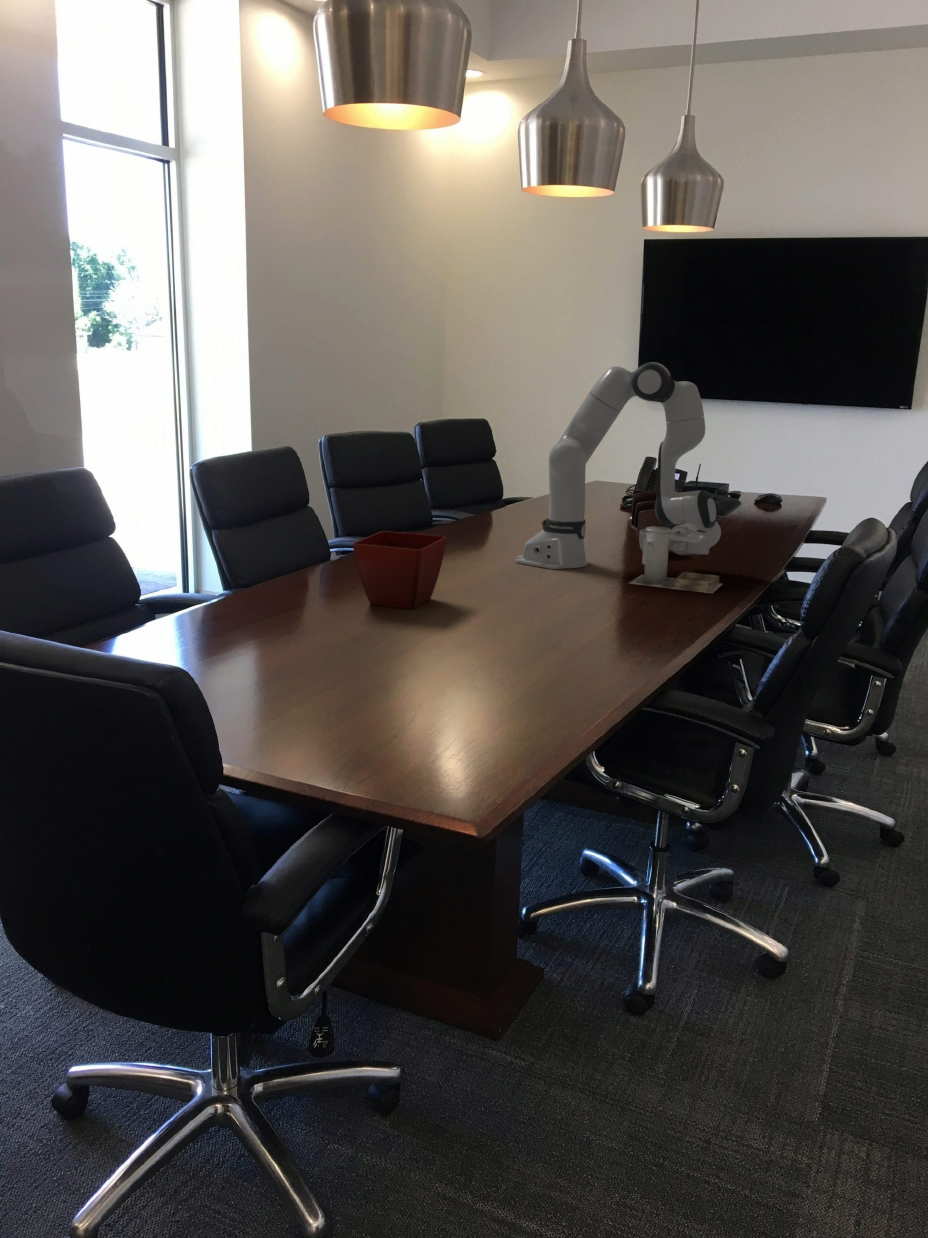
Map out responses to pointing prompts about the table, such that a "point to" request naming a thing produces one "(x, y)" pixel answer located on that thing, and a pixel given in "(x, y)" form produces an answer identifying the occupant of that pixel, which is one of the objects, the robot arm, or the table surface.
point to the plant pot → (399, 567)
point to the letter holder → (645, 511)
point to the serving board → (685, 582)
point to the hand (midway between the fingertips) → (658, 545)
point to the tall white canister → (656, 554)
